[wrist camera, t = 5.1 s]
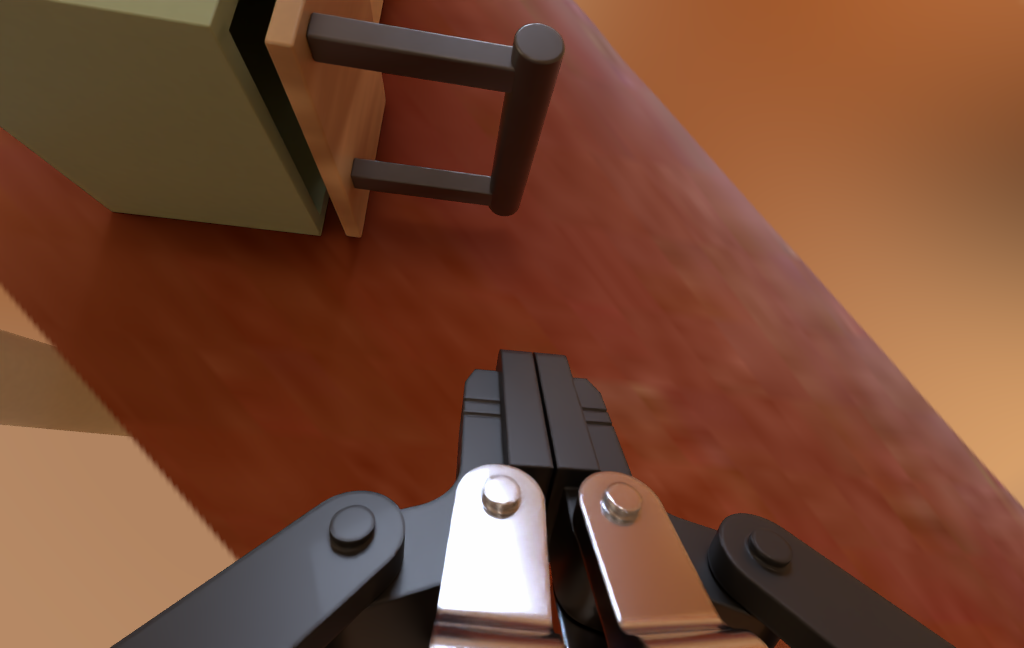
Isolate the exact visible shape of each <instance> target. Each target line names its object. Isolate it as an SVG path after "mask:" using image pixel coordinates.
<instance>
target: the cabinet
mask: <svg viewBox="0 0 1024 648" xmlns="http://www.w3.org/2000/svg"><path fill="white" fill-rule="evenodd" d="M370 2H371V9H372V15H373V21H374V23H379V21H380V15H381V10H382V5H383V0H370ZM275 3H276V0H0V126H1V127H2V128H3V129H4V130H6V131H7V132H8V133H10V134H11V135H12V136H14V137H15V138H16V139H17V140H19V141H20V142H21V143H23V144H24V145H25V146H27V147H28V148H29V149H31V150H32V151H33V152H34V153H36V154H37V155H38V156H40V157H41V158H42V159H44V160H45V161H46V162H48V163H49V164H50V165H51V166H53V167H54V168H55V169H57V170H58V171H59V172H61V173H62V174H63V175H65V176H66V177H67V178H68V179H70V180H71V181H72V182H74V183H75V184H76V185H78V186H79V187H80V188H82V189H83V190H84V191H85V192H87V193H88V194H89V195H91V196H92V197H93V198H95V199H96V200H97V201H99V202H100V203H101V204H102V205H104V206H105V207H107V208H108V209H109V210H110V211H112V212H120V213H129V214H137V215H146V216H154V217H163V218H172V219H180V220H189V221H197V222H206V223H215V224H223V225H232V226H240V227H249V228H257V229H266V230H275V231H283V232H292V233H300V234H309V235H318V236H321V233H322V229H323V224H324V219H325V214H326V209H327V205H328V200H329V194H328V191H327V189H326V186H325V184H324V182H323V179H322V177H321V175H320V172H319V170H318V167H317V165H316V163H315V160H314V158H313V156H312V153H311V151H310V149H309V146H308V144H307V141H306V139H305V137H304V134H303V132H302V130H301V127H300V125H299V123H298V120H297V118H296V115H295V113H294V111H293V108H292V106H291V104H290V101H289V99H288V96H287V94H286V92H285V89H284V87H283V85H282V82H281V80H280V78H279V75H278V73H277V70H276V68H275V66H274V63H273V61H272V59H271V56H270V54H269V52H268V49H267V47H266V44H265V37H266V34H267V31H268V27H269V24H270V20H271V17H272V13H273V10H274V7H275Z"/></svg>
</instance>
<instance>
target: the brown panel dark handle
mask: <svg viewBox="0 0 1024 648" xmlns="http://www.w3.org/2000/svg"><path fill="white" fill-rule="evenodd" d="M265 44H266V47H267V49H268V52H269V54H270V56H271V59H272V61H273V63H274V66H275V68H276V70H277V73H278V75H279V78H280V80H281V82H282V85H283V87H284V89H285V92H286V94H287V96H288V99H289V101H290V104H291V106H292V108H293V111H294V113H295V115H296V118H297V120H298V123H299V125H300V127H301V130H302V132H303V134H304V137H305V139H306V141H307V144H308V146H309V149H310V151H311V153H312V156H313V158H314V160H315V163H316V165H317V167H318V170H319V172H320V175H321V177H322V179H323V182H324V184H325V186H326V189H327V191H328V194H329V196H330V198H331V201H332V203H333V205H334V208H335V210H336V212H337V215H338V217H339V220H340V222H341V224H342V227H343V229H344V231H345V234H346V236H351V237H359V238H360V237H361V236H362V232H363V226H364V220H365V215H366V209H367V203H368V198H369V192H370V190H372V191H379V192H387V193H395V194H402V195H410V196H418V197H426V198H433V199H441V200H449V201H456V202H464V203H472V204H480V205H487V206H489V208H490V209H491V210H492V211H493V212H494V213H495V214H497V215H500V216H509V215H512V214H514V213H515V212H516V211H517V210H518V208H519V205H520V202H521V199H522V195H523V192H524V188H525V185H526V182H527V178H528V175H529V171H530V168H531V165H532V161H533V158H534V154H535V151H536V147H537V144H538V141H539V137H540V134H541V130H542V127H543V124H544V120H545V117H546V113H547V110H548V107H549V103H550V100H551V96H552V93H553V89H554V86H555V83H556V79H557V76H558V72H559V69H560V66H561V62H562V59H563V55H564V52H565V45H564V41H563V39H562V37H561V35H560V34H559V33H558V32H557V31H556V30H554V29H553V28H551V27H549V26H547V25H544V24H539V23H532V24H527V25H525V26H523V27H521V28H520V29H519V30H518V31H517V33H516V34H515V37H514V42H513V46H507V45H501V44H495V43H490V42H484V41H478V40H472V39H466V38H461V37H455V36H449V35H443V34H437V33H431V32H426V31H420V30H414V29H408V28H402V27H397V26H391V25H385V24H379V23H374V21H373V15H372V9H371V2H370V0H276V3H275V7H274V10H273V13H272V17H271V20H270V24H269V27H268V31H267V34H266V37H265ZM382 73H388V74H394V75H401V76H407V77H413V78H419V79H426V80H432V81H438V82H444V83H451V84H457V85H463V86H469V87H476V88H482V89H488V90H495V91H501V92H505V96H504V102H503V108H502V114H501V120H500V126H499V132H498V139H497V145H496V151H495V157H494V163H493V169H492V175H491V176H483V175H476V174H469V173H462V172H454V171H447V170H440V169H432V168H425V167H418V166H410V165H403V164H396V163H389V162H381V161H375V158H376V153H377V147H378V141H379V136H380V130H381V124H382V119H383V113H384V107H385V102H386V98H385V91H384V85H383V79H382Z"/></svg>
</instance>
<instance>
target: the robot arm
mask: <svg viewBox="0 0 1024 648" xmlns="http://www.w3.org/2000/svg"><path fill="white" fill-rule="evenodd" d="M606 410H607V409H606V406H605V404H604V401H603V399H602V396H601V393H600V392H599V391H598V390H597V389H596V388H595V387H594V386H593V385H592V384H591V383H590V382H589V381H588V380H587V379H583V378H573V377H572V374H571V371H570V367H569V364H568V361H567V358H566V356H565V355H556V354H545V353H535V352H534V353H533V354H532V352H523V351H512V350H501V349H500V351H499V354H498V360H497V366H496V371H491V370H479V369H475V370H474V372H473V373H472V374H471V375H470V377H469V378H468V379H467V380H466V382H465V388H464V396H463V405H462V413H461V422H460V431H459V442H458V457H457V472H456V482H455V483H454V485H453V486H452V487H451V488H450V489H449V491H447V492H446V493H445V494H444V495H442V496H441V497H439V498H437V499H436V500H433V501H431V502H429V503H425V504H422V505H418V506H414V507H410V508H405V509H401V510H400V508H399V507H398V506H397V504H395V503H394V502H393V501H392V500H391V499H389V498H388V497H386V496H384V495H382V494H379V493H375V492H371V491H351V492H346V493H342V494H339V495H336V496H334V497H331V498H329V499H327V500H326V501H324V502H322V503H321V504H319V505H318V506H316V507H315V508H313V509H312V510H310V511H309V512H308V513H306V514H305V515H303V516H302V517H300V518H299V519H297V520H296V521H294V522H293V523H291V524H290V525H289V526H287V527H286V528H284V529H283V530H281V531H280V532H278V533H277V534H275V535H274V536H272V537H271V538H270V539H268V540H267V541H265V542H264V543H262V544H261V545H259V546H258V547H256V548H255V549H253V550H252V551H251V552H249V553H248V554H246V555H245V556H243V557H242V558H240V559H239V560H237V561H236V562H234V563H233V564H232V565H230V566H229V567H227V568H226V569H224V570H223V571H221V572H220V573H218V574H217V575H216V576H214V577H213V578H211V579H210V580H208V581H207V582H205V583H204V584H202V585H201V586H199V587H198V588H196V589H195V590H194V591H192V592H191V593H189V594H188V595H186V596H185V597H183V598H182V599H181V600H179V601H178V602H176V603H175V604H173V605H172V606H170V607H169V608H167V609H166V610H164V611H163V612H162V613H160V614H159V615H157V616H156V617H154V618H153V619H151V620H150V621H148V622H147V623H145V624H144V625H142V626H141V627H140V628H138V629H137V630H135V631H134V632H132V633H131V634H129V635H128V636H126V637H125V638H123V639H122V640H121V641H119V642H118V643H116V644H115V645H113V646H112V647H111V648H774V647H775V645H776V644H777V642H778V641H779V640H780V639H782V640H783V641H784V642H785V643H786V644H788V645H789V646H790V647H791V648H956V647H954V646H953V645H951V644H950V643H949V642H947V641H946V640H944V639H943V638H941V637H940V636H938V635H937V634H935V633H934V632H933V631H931V630H930V629H928V628H927V627H925V626H924V625H922V624H921V623H920V622H918V621H917V620H915V619H914V618H912V617H911V616H909V615H908V614H906V613H905V612H904V611H902V610H901V609H899V608H898V607H896V606H895V605H893V604H892V603H891V602H889V601H888V600H886V599H885V598H883V597H882V596H880V595H879V594H878V593H876V592H875V591H873V590H872V589H870V588H869V587H867V586H866V585H864V584H863V583H862V582H860V581H859V580H857V579H856V578H854V577H853V576H851V575H850V574H849V573H847V572H846V571H844V570H843V569H841V568H840V567H838V566H837V565H835V564H834V563H833V562H831V561H830V560H828V559H827V558H825V557H824V556H822V555H821V554H820V553H818V552H817V551H815V550H814V549H812V548H811V547H809V546H808V545H806V544H805V543H804V542H802V541H801V540H799V539H798V538H796V537H795V536H793V535H792V534H791V533H789V532H788V531H786V530H785V529H783V528H782V527H780V526H778V525H777V524H775V523H773V522H771V521H769V520H767V519H764V518H762V517H759V516H756V515H752V514H745V513H738V514H733V515H730V516H728V517H726V518H725V519H724V520H723V521H722V523H721V525H720V527H719V529H718V530H714V529H711V528H708V527H705V526H702V525H699V524H696V523H693V522H690V521H687V520H684V519H681V518H678V517H676V516H673V515H671V514H669V513H667V512H666V511H665V509H664V507H663V505H662V503H661V502H660V500H659V498H658V497H657V496H656V494H655V493H654V492H653V491H652V490H651V489H650V488H649V487H648V486H646V485H645V484H644V483H642V482H641V481H639V480H638V479H636V478H634V477H632V475H631V472H630V469H629V467H628V464H627V461H626V459H625V456H624V454H623V451H622V448H621V446H620V443H619V440H618V438H617V435H616V433H615V430H614V427H613V426H612V422H611V420H610V417H609V414H608V413H607V412H606ZM548 562H550V564H551V571H552V578H553V581H552V584H551V588H550V580H549V563H548Z"/></svg>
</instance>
